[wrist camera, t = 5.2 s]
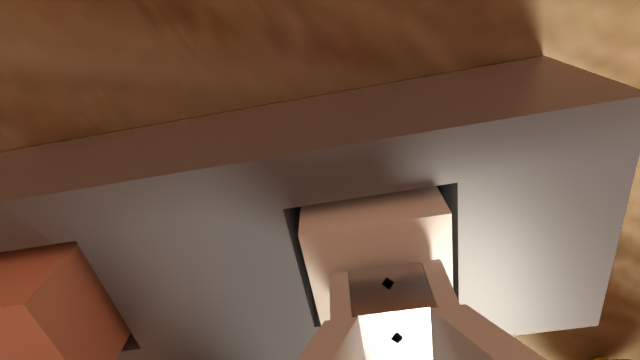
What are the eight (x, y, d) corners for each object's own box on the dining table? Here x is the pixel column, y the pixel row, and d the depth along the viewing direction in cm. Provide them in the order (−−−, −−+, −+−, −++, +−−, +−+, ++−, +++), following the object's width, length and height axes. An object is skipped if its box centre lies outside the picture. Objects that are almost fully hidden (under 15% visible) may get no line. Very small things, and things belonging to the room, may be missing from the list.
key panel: (544, 55, 13) (653, 94, 9) (526, 235, 17) (597, 325, 13) (-87, 167, 16) (-248, 242, 11) (20, 306, 19) (-69, 403, 15)
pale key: (420, 155, 13) (451, 213, 10) (425, 248, 15) (453, 321, 12) (303, 174, 13) (298, 235, 10) (323, 263, 15) (324, 338, 12)
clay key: (96, 224, 13) (23, 304, 10) (143, 309, 14) (95, 399, 11) (-14, 241, 13) (-118, 324, 10) (46, 322, 15) (-26, 413, 12)
